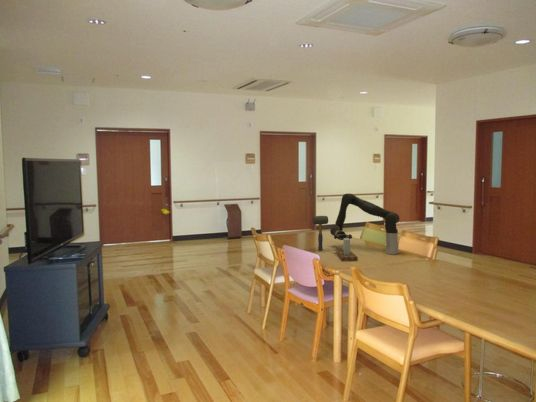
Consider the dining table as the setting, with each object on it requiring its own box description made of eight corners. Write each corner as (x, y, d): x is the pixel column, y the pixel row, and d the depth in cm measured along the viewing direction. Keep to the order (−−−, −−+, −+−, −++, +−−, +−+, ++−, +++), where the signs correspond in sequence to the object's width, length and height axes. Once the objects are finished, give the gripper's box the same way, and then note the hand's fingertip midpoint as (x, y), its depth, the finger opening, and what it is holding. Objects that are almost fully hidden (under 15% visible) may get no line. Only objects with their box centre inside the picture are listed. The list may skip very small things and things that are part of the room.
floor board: (351, 255, 340) (351, 251, 339) (357, 260, 320) (357, 257, 320) (336, 255, 339) (336, 251, 339) (341, 261, 319) (342, 257, 319)
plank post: (348, 257, 332) (348, 238, 331) (350, 258, 327) (350, 239, 326) (343, 257, 332) (343, 238, 331) (344, 258, 327) (345, 239, 326)
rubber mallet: (325, 249, 363) (326, 214, 360) (328, 251, 355) (328, 216, 352) (312, 250, 360) (312, 215, 357) (314, 251, 353) (314, 216, 350)
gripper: (331, 230, 355) (335, 233, 338) (348, 230, 355) (353, 233, 339) (332, 239, 355) (336, 243, 339) (348, 238, 356) (353, 242, 340)
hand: (344, 238), depth 339 cm, fingers open, 8 cm apart
